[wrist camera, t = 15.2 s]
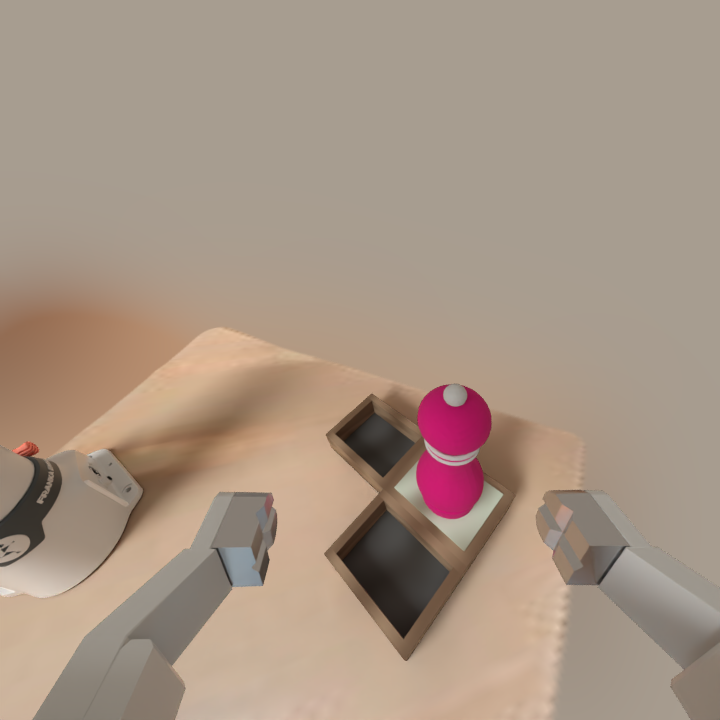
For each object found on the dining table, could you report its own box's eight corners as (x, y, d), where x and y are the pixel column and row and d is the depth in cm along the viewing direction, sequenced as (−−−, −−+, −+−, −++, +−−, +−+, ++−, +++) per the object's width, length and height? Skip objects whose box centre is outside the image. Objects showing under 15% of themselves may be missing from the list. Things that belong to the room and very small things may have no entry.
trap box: (280, 494, 45) (269, 482, 42) (374, 407, 53) (371, 392, 50) (407, 660, 30) (404, 660, 27) (509, 506, 38) (516, 493, 35)
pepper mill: (439, 536, 34) (441, 447, 20) (406, 479, 39) (391, 376, 25) (493, 505, 35) (532, 401, 21) (455, 454, 40) (465, 342, 26)
